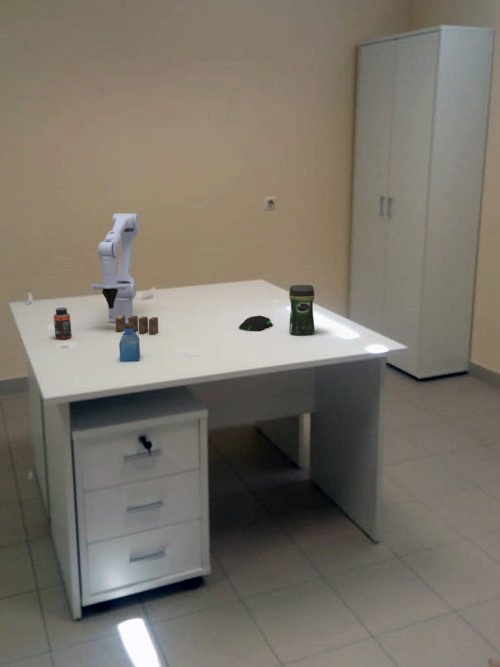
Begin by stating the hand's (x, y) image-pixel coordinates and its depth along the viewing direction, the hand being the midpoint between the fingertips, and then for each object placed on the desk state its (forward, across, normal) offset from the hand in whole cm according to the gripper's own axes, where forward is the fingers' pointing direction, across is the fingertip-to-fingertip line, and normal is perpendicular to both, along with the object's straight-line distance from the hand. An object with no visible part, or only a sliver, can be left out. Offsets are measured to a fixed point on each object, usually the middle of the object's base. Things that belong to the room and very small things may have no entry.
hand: (111, 308), depth 276 cm
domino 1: (+9, +9, -2) cm, 13 cm away
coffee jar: (+9, +73, -1) cm, 74 cm away
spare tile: (+9, +4, -1) cm, 10 cm away
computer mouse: (+10, +56, +9) cm, 58 cm away
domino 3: (+9, +17, -4) cm, 20 cm away
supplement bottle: (+9, -16, -12) cm, 22 cm away
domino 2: (+9, +13, -3) cm, 16 cm away
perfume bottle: (+9, +16, -37) cm, 41 cm away
